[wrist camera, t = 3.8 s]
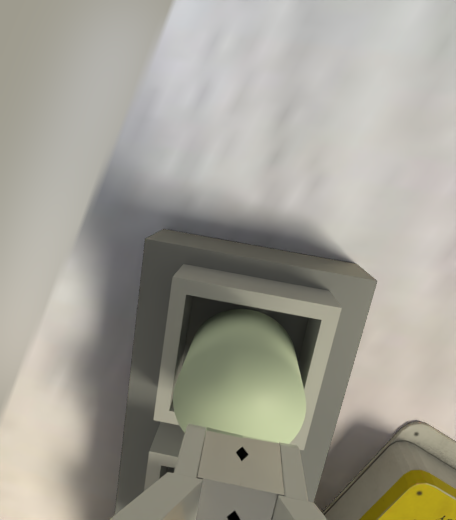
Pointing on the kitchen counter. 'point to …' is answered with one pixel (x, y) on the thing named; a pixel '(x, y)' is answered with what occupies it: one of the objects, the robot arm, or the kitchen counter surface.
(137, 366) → the panel
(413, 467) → the emergency button
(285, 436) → the pale green egg
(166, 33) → the kitchen counter surface
